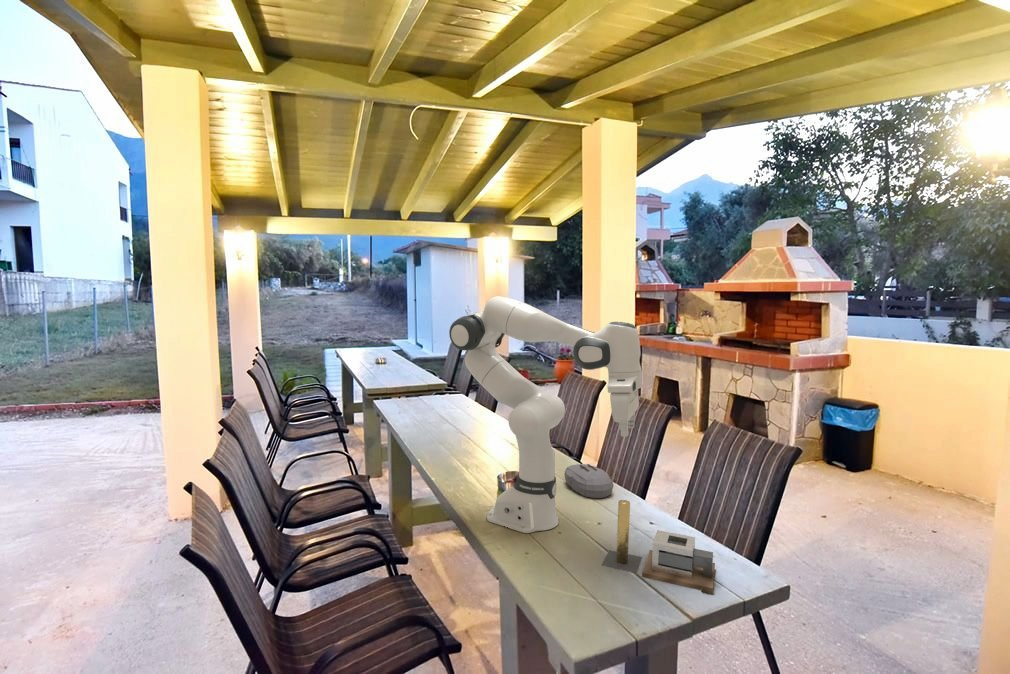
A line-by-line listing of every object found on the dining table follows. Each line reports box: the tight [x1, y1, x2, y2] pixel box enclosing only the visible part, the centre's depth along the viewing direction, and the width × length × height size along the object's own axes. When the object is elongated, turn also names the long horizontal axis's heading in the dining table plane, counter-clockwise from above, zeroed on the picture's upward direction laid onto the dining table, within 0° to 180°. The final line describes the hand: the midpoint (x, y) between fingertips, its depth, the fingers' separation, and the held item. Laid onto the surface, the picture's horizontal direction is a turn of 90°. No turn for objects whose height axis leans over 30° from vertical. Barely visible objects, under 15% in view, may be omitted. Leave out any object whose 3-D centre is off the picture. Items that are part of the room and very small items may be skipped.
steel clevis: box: [652, 529, 714, 578], centre depth 133 cm, size 14×8×7 cm, turn 66°
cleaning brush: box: [564, 463, 615, 499], centre depth 190 cm, size 15×8×20 cm
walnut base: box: [641, 549, 716, 595], centre depth 133 cm, size 16×13×2 cm
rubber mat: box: [601, 549, 643, 574], centre depth 138 cm, size 9×9×1 cm
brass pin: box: [616, 499, 631, 564], centre depth 137 cm, size 3×3×16 cm
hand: (627, 431), depth 142 cm, fingers open, 8 cm apart
